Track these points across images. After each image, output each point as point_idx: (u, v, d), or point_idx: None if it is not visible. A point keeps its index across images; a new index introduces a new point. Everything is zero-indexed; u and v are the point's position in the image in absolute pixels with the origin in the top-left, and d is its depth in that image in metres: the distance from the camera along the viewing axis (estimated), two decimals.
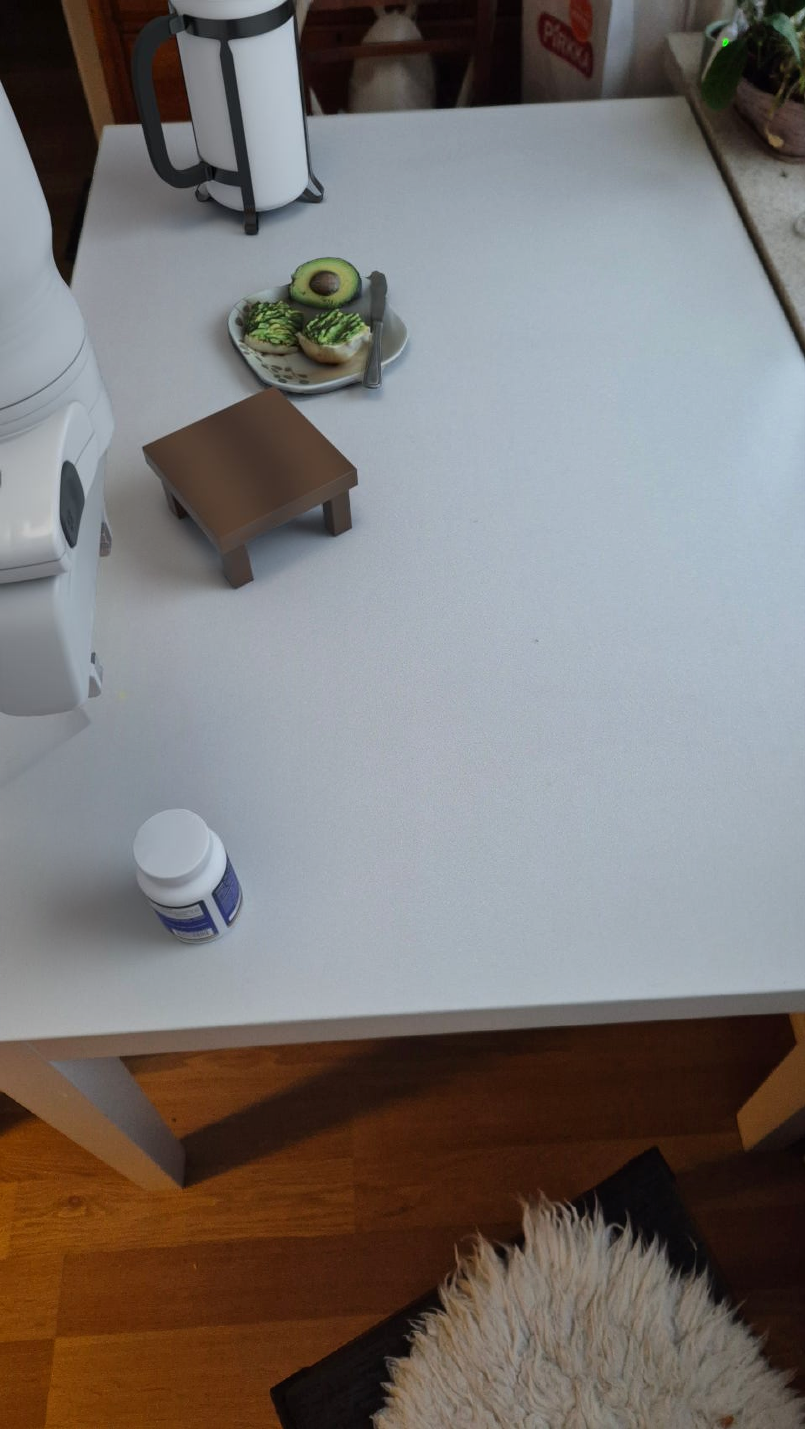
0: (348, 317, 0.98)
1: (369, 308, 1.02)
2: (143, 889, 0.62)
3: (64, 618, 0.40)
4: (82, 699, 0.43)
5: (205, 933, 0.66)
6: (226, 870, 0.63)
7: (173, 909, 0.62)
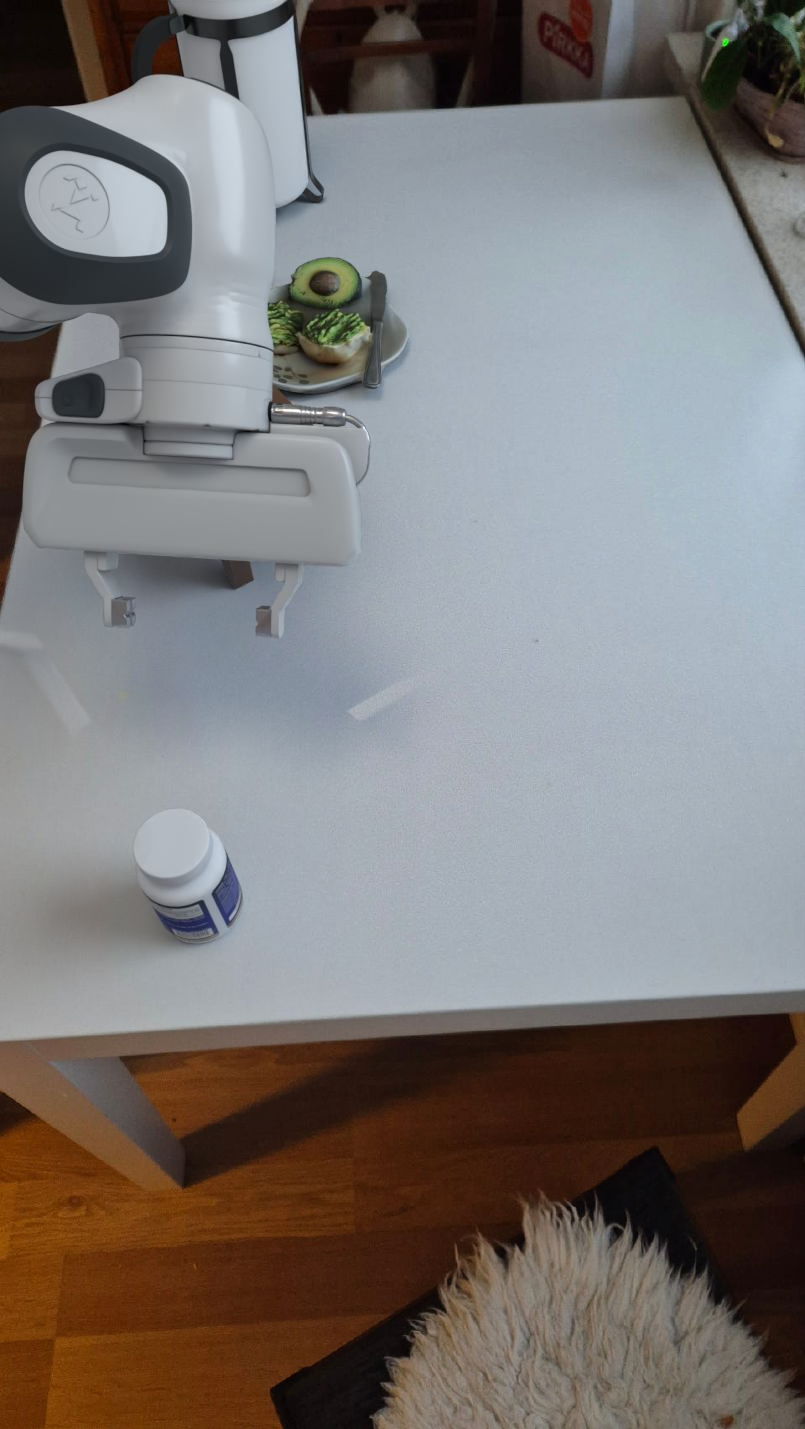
0: (348, 317, 0.98)
1: (369, 308, 1.02)
2: (143, 889, 0.62)
3: (31, 447, 0.58)
4: (25, 526, 0.60)
5: (205, 933, 0.66)
6: (226, 870, 0.63)
7: (173, 909, 0.62)
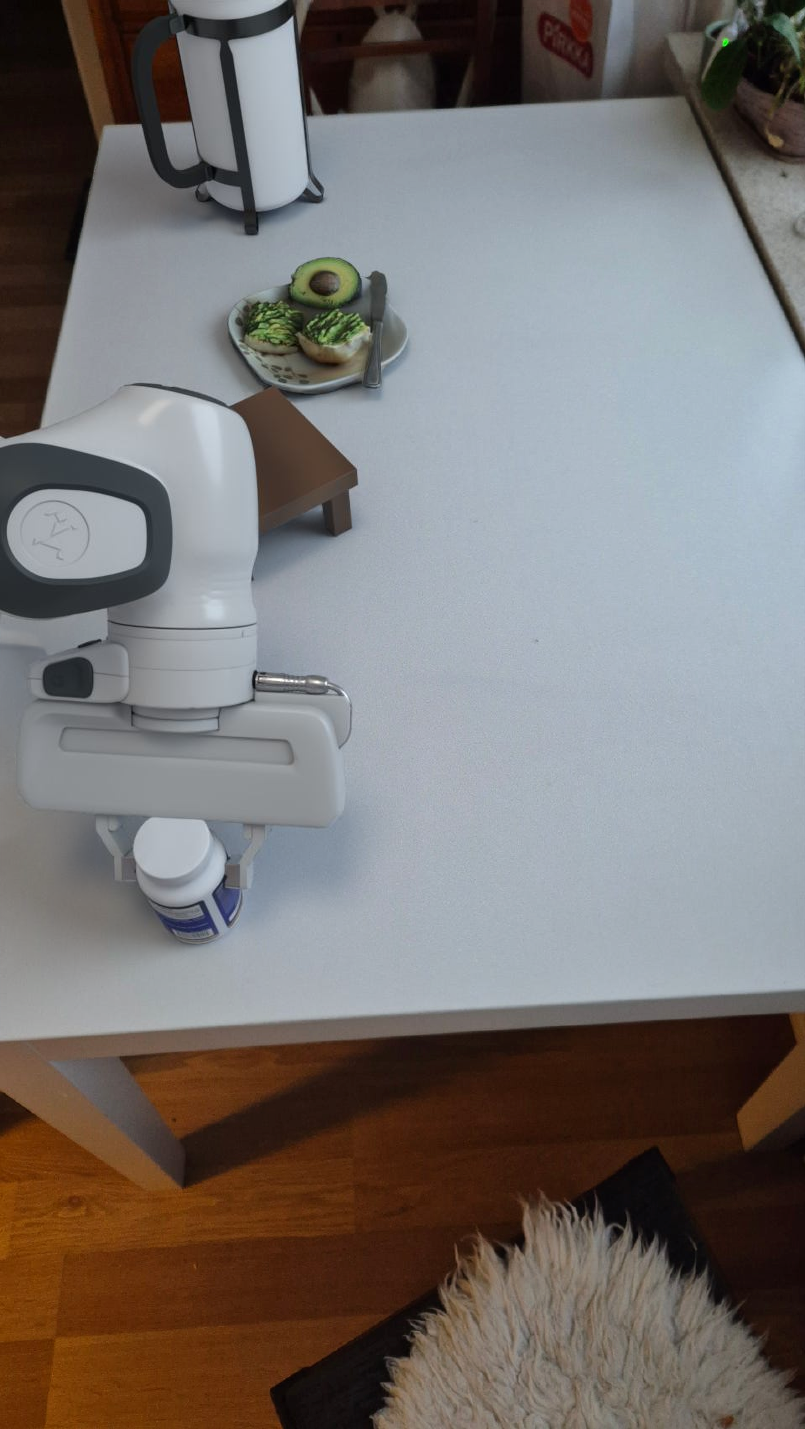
0: (348, 317, 0.98)
1: (369, 308, 1.02)
2: (143, 889, 0.62)
3: (23, 721, 0.60)
4: (18, 791, 0.62)
5: (205, 933, 0.66)
6: None
7: (173, 910, 0.62)
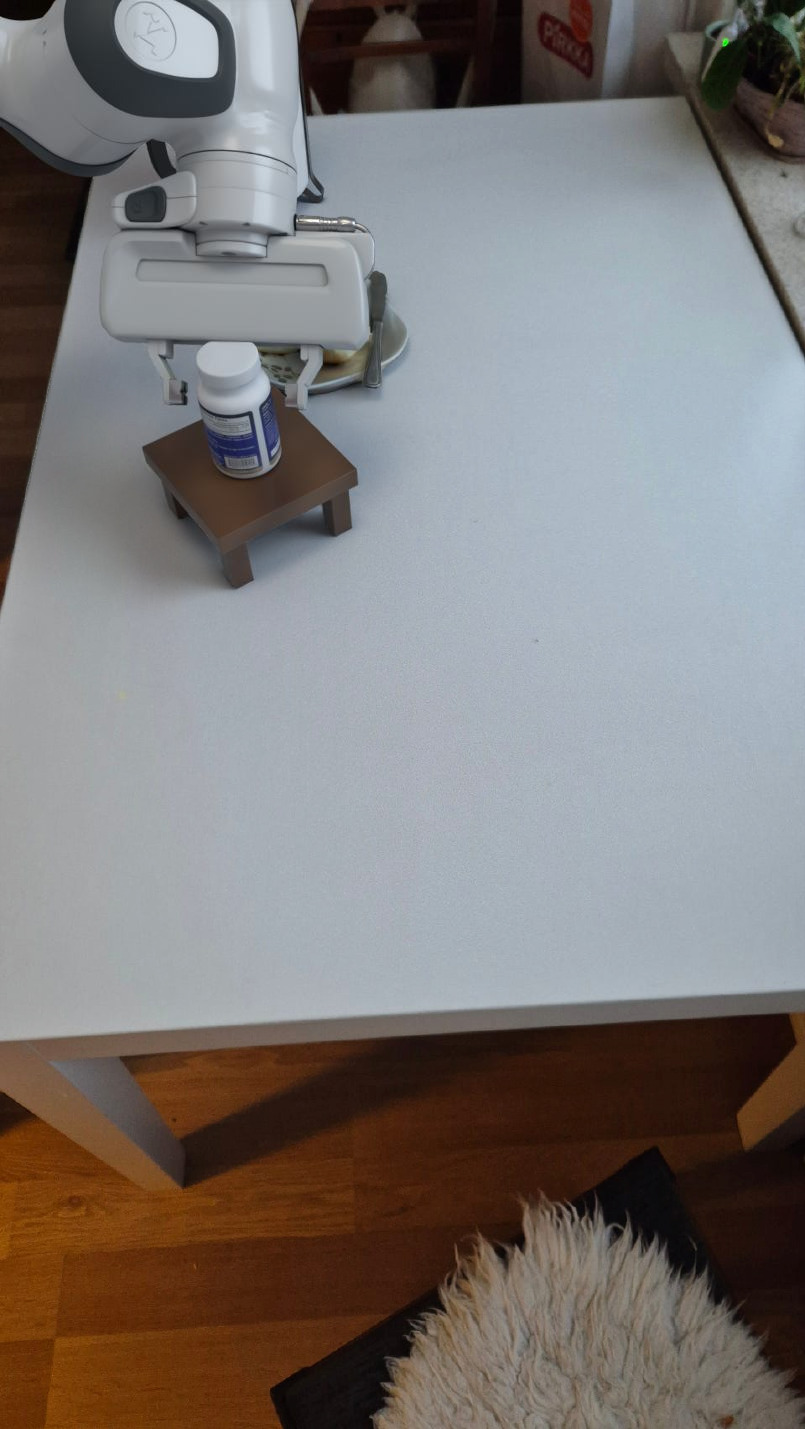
0: None
1: (369, 308, 1.02)
2: (203, 402, 0.76)
3: (107, 250, 0.74)
4: (101, 318, 0.75)
5: (252, 461, 0.80)
6: (270, 395, 0.77)
7: (228, 420, 0.76)
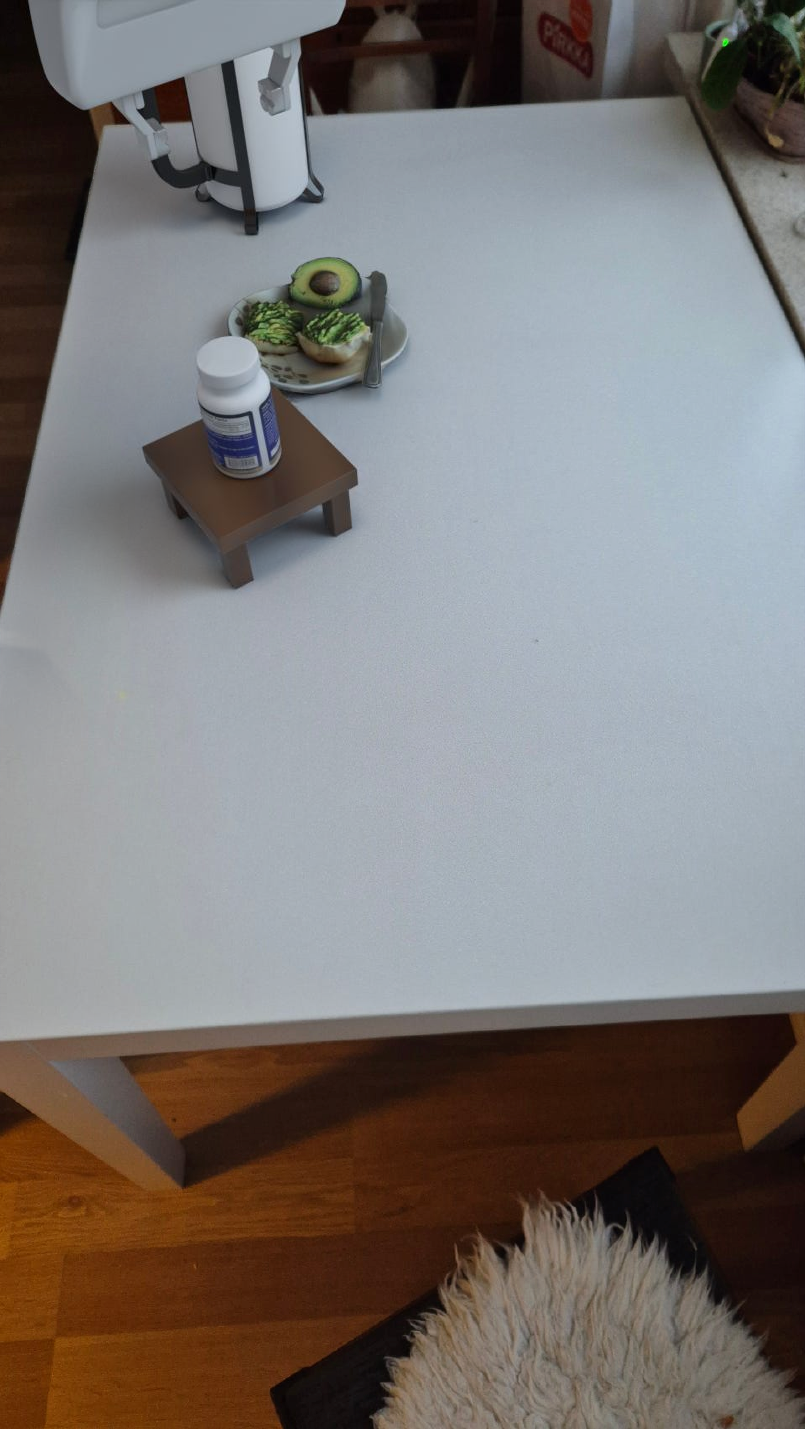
0: (348, 317, 0.98)
1: (369, 308, 1.02)
2: (203, 402, 0.76)
3: (64, 7, 0.56)
4: (72, 94, 0.60)
5: (252, 461, 0.80)
6: (270, 395, 0.77)
7: (228, 420, 0.76)
